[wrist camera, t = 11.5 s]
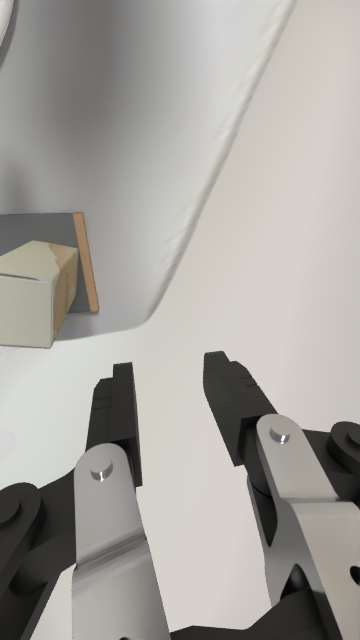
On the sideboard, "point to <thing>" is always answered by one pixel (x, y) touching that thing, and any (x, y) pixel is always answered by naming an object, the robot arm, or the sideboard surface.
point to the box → (36, 293)
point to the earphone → (5, 16)
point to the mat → (57, 229)
